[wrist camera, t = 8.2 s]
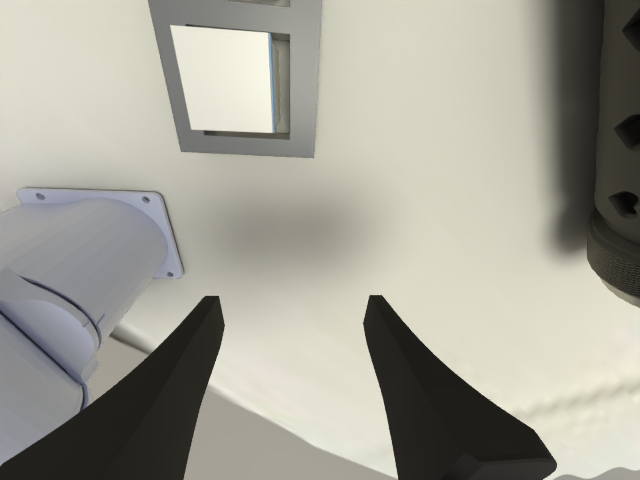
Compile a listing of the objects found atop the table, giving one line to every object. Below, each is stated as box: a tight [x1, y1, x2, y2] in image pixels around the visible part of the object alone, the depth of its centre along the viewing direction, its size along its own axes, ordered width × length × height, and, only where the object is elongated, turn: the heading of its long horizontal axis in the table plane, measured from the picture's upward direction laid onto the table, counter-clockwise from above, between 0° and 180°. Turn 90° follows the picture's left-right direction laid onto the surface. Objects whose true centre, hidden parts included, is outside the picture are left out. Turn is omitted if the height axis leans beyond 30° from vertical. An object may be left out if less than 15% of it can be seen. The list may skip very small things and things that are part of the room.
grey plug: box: [170, 25, 280, 133], centre depth 13 cm, size 4×4×6 cm
